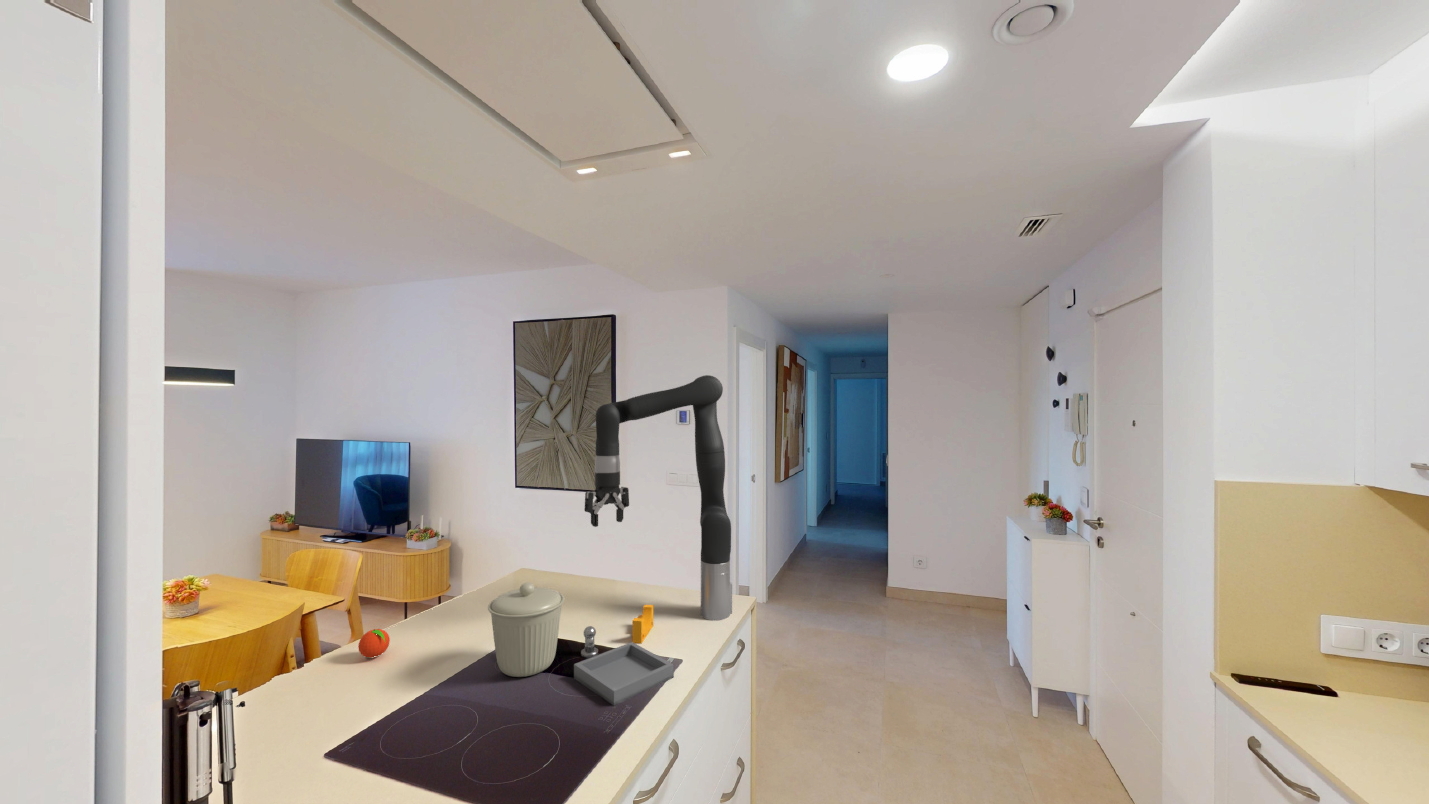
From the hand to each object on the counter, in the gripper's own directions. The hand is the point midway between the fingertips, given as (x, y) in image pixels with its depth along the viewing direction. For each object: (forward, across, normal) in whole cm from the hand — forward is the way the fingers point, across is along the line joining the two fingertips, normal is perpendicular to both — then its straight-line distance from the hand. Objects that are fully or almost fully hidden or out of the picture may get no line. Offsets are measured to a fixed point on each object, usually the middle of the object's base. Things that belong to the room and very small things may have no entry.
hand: (607, 523), depth 160 cm
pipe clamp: (+30, -3, +13) cm, 33 cm away
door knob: (+30, +14, +13) cm, 36 cm away
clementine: (+30, +55, -25) cm, 67 cm away
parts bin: (+30, +15, +30) cm, 45 cm away
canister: (+30, +29, +8) cm, 43 cm away
